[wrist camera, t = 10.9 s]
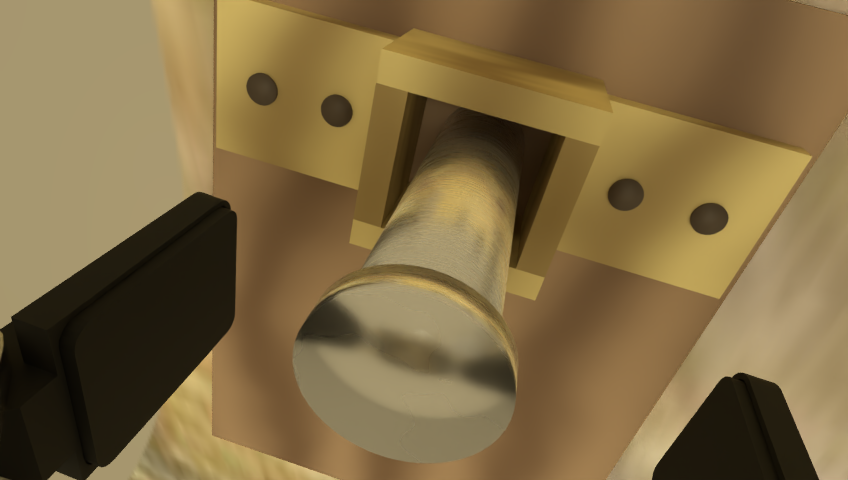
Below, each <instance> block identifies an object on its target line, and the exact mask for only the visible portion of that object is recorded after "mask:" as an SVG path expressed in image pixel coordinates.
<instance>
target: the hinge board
mask: <svg viewBox="0 0 848 480" xmlns="http://www.w3.org/2000/svg"><path fill="white" fill-rule="evenodd" d="M460 107H463V108H467V109H470V110H474V111H477V112H481V113H484V114H488V115H491V116H495V117H498V118H502V119H505V120H509V121H512V122H516V123H519V124H520V125H521V127H522V130H523V133H524V139H525V146H524V154H523V162H522V170H521V177H520V185H519V193H518V200H517V208H516V216H515V223H514V231H513V239H512V247H511V254H510V262H509V270H508V277H507V285H506V293H505V301H504V308H503V316H502V317H503V319H504V320H505V322H506V323H507V325H508V327H509V329H510V330H511V333H512V335H513V338H514V340H515V343H516V348H517V352H518V378H517V390H516V401H515V409H514V412H513V415H512V418H511V421H510V422H509V424H508V426H507V428H506V430H505V431H504V432H503V433H502V435H501V436H500V437H499V438H498V439H497V440H496V441H495V442H494V443H492V444H491V445H490V446H488V447H487V448H485V449H484V450H482V451H480V452H478V453H476V454H474V455H472V456H469V457H466V458H463V459H460V460H455V461H450V462H444V463H413V462H405V461H400V460H395V459H391V458H387V457H384V456H381V455H378V454H375V453H372V452H370V451H367V450H365V449H363V448H361V447H359V446H357V445H355V444H353V443H352V442H350V441H348V440H346V439H345V438H343V437H342V436H340V435H339V434H338V433H336V432H335V431H334V430H332V429H331V428H330V427H329V426H328V425H326V424H325V423H324V422H323V421H322V420H321V419H320V418H319V417H318V416H317V415H316V413H315V412H314V411H313V410H312V408H311V407H310V406H309V405H308V403H307V401H306V400H305V398H304V397H303V395H302V393H301V391H300V389H299V386H298V384H297V381H296V378H295V375H294V369H293V348H294V343H295V340H296V337H297V334H298V332H299V330H300V329H301V327H302V325H303V324H304V322H305V320H306V319H307V317H308V316H309V314H310V313H311V311H312V310H313V308H314V306H315V305H316V303H317V302H318V300H319V299H320V297H321V296H322V294H323V293H324V292H325V291H326V290H327V289H328V288H329V287H330V286H331V285H332V284H333V283H335V282H336V281H337V280H338V279H340V278H342V277H344V276H345V275H347V274H349V273H352V272H354V271H357V270H359V269H361V268H362V267H363V265H364V263H365V261H366V260H367V258H368V256H369V255H370V253H371V251H372V249H373V248H374V246H375V244H376V242H377V241H378V239H379V237H380V235H381V234H382V232H383V230H384V228H385V227H386V225H387V223H388V221H389V220H390V218H391V216H392V214H393V213H394V211H395V209H396V207H397V206H398V204H399V202H400V200H401V199H402V197H403V195H404V193H405V192H406V190H407V188H408V186H409V185H410V183H411V181H412V179H413V178H414V176H415V174H416V172H417V171H418V169H419V167H420V165H421V164H422V162H423V160H424V158H425V157H426V155H427V153H428V151H429V150H430V148H431V146H432V144H433V143H434V141H435V139H436V137H437V136H438V134H439V132H440V130H441V129H442V127H443V125H444V124H445V122H446V120H447V119H448V117H449V116H450V115H451V114H452V113H453V112H454V111H455V110H457V109H458V108H460ZM847 113H848V15H844V14H840V13H836V12H832V11H828V10H824V9H820V8H817V7H813V6H809V5H805V4H801V3H797V2H793V1H789V0H214V120H213V196H214V197H217V198H220V199H223V200H226V201H227V202H229V204H230V206H231V210H232V211H234V212H236V214H237V250H236V298H235V318H234V321H233V324H232V326H231V328H230V329H229V331H228V332H227V333H226V334H225V336H224V337H223V338H222V339H221V340H220V341H219V342H218V343H217V345H216V346H215V347H214V348H213V360H212V435H213V436H216V437H219V438H222V439H224V440H227V441H230V442H233V443H236V444H239V445H242V446H245V447H248V448H250V449H253V450H256V451H259V452H262V453H265V454H268V455H271V456H274V457H276V458H279V459H282V460H285V461H288V462H291V463H294V464H297V465H300V466H302V467H305V468H308V469H311V470H314V471H317V472H320V473H323V474H326V475H328V476H331V477H334V478H337V479H340V480H606V478H607V477H608V475H609V474H610V472H611V471H612V469H613V468H614V466H615V465H616V463H617V462H618V460H619V459H620V457H621V456H622V454H623V453H624V451H625V450H626V448H627V446H628V445H629V443H630V442H631V440H632V439H633V437H634V436H635V434H636V433H637V431H638V430H639V428H640V427H641V425H642V424H643V422H644V421H645V419H646V418H647V416H648V415H649V413H650V412H651V410H652V409H653V407H654V406H655V404H656V403H657V401H658V399H659V398H660V396H661V395H662V393H663V392H664V390H665V389H666V387H667V386H668V384H669V383H670V381H671V380H672V378H673V377H674V375H675V374H676V372H677V371H678V369H679V368H680V366H681V365H682V363H683V362H684V360H685V359H686V357H687V355H688V354H689V352H690V351H691V349H692V348H693V346H694V345H695V343H696V342H697V340H698V339H699V337H700V336H701V334H702V333H703V331H704V330H705V328H706V327H707V325H708V324H709V322H710V321H711V319H712V318H713V316H714V315H715V313H716V312H717V310H718V308H719V307H720V305H721V304H722V302H723V301H724V299H725V298H726V296H727V295H728V293H729V292H730V290H731V289H732V287H733V286H734V284H735V283H736V281H737V280H738V278H739V277H740V275H741V274H742V272H743V271H744V269H745V268H746V266H747V265H748V263H749V261H750V260H751V258H752V257H753V255H754V254H755V252H756V251H757V249H758V248H759V246H760V245H761V243H762V242H763V240H764V239H765V237H766V236H767V234H768V233H769V231H770V230H771V228H772V227H773V225H774V224H775V222H776V221H777V219H778V218H779V216H780V214H781V213H782V211H783V210H784V208H785V207H786V205H787V204H788V202H789V201H790V199H791V198H792V196H793V195H794V193H795V192H796V190H797V189H798V187H799V186H800V184H801V183H802V181H803V180H804V178H805V177H806V175H807V174H808V172H809V171H810V169H811V167H812V166H813V164H814V163H815V161H816V160H817V158H818V157H819V155H820V154H821V152H822V151H823V149H824V148H825V146H826V145H827V143H828V142H829V140H830V139H831V137H832V136H833V134H834V133H835V131H836V130H837V128H838V127H839V125H840V123H841V122H842V120H843V119H844V117H845V116H846V114H847Z"/></svg>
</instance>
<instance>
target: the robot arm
mask: <svg viewBox="0 0 848 480" xmlns="http://www.w3.org/2000/svg"><path fill="white" fill-rule="evenodd" d="M236 250H237V214H236V212H234V211H232V210H231V206H230V204H229V202H227V201H226V200H223V199H220V198H217V197H214V196H211V195H208V194H205V193H202V192H197V193H195V194H193V195H191V196H190V197H188V198H187V199H185V200H184V201H182V202H181V203H180V204H178V205H176V206H175V207H174V208H172V209H171V210H169V211H168V212H166V213H165V214H163V215H162V216H160V217H159V218H157V219H156V220H154V221H153V222H151V223H150V224H148V225H147V226H145V227H144V228H142V229H141V230H139V231H138V232H136V233H135V234H133V235H132V236H130V237H129V238H127V239H126V240H125V241H123V242H122V243H120V244H119V245H117V246H116V247H114V248H113V249H111V250H110V251H108V252H107V253H105V254H104V255H102V256H101V257H100V258H98V259H96V260H95V261H93V262H92V263H90V264H89V265H87V266H86V267H85V268H83V269H82V270H80V271H79V272H77V273H76V274H74V275H73V276H71V277H70V278H68V279H67V280H65V281H64V282H62V283H61V284H59V285H58V286H56V287H55V288H53V289H52V290H50V291H49V292H47V293H46V294H44V295H43V296H42V297H40V298H39V299H37V300H35V301H34V302H32V303H31V304H30V305H28V306H27V307H25V308H24V309H22V310H21V311H19V312H18V313H16V314H15V315H13V316H12V317H11V318H12V322H11V323H9V324H8V325H6V326H5V327H3V328H2V329H0V480H47V479H48V478H50V476H51V475H52V474H53V473H54V472H55V471H57V472H60V473H62V474H64V475H67V476H69V477H72V478H75V479H77V480H86V479H87V478H88V477H89V475H90V474H91V473H92V472H93V471H94V470H95V469H96V468H97V467H98V466H100V467H105V466H107V465H108V464H110V463H111V462H112V461H113V460H114V459H115V458H116V457H117V456H118V455H119V453H120V452H121V451H122V450H123V449H124V448H125V447H126V446H127V444H128V443H129V442H130V441H131V440H132V439H133V438H134V437H135V436H136V434H137V433H138V432H139V431H140V430H141V429H142V428H143V427H144V425H145V424H146V423H147V422H148V421H149V420H150V419H151V418H152V416H153V415H154V414H155V413H156V412H157V411H158V410H159V409H160V407H161V406H162V405H163V404H164V403H165V402H166V401H167V400H168V398H169V397H170V396H171V395H172V394H173V393H174V392H175V391H176V389H177V388H178V387H179V386H180V385H181V384H182V383H183V382H184V380H185V379H186V378H187V377H188V376H189V375H190V374H191V373H192V371H193V370H194V369H195V368H196V367H197V366H198V365H199V364H200V363H201V361H202V360H203V359H204V358H205V357H206V356H207V355H208V354H209V352H210V351H211V350H212V349H213V348H214V347H215V346H216V345H217V343H218V342H219V341H220V340H221V339H222V338H223V337H224V336H225V334H226V333H227V332H228V331H229V329H230V328H231V326H232V324H233V321H234V318H235V298H236ZM652 480H819V478H818V476H817V474H816V471H815V469H814V466H813V464H812V462H811V459H810V457H809V455H808V452H807V450H806V448H805V445H804V443H803V440H802V438H801V436H800V433H799V431H798V429H797V426H796V424H795V422H794V419H793V417H792V414H791V412H790V410H789V407H788V405H787V403H786V400H785V398H784V396H783V393H782V391H781V389H780V388H779V386H778V385H776V384H775V383H772V382H769V381H766V380H763V379H760V378H757V377H754V376H751V375H748V374H745V373H737V374H735V375H734V376H733V377H732V378H731V377H724V378H722V379H721V380H720V381H719V383H718V384H717V385H716V387H715V388H714V389H713V391H712V392H711V393H710V395H709V396H708V397H707V399H706V400H705V401H704V403H703V404H702V405H701V407H700V408H699V409H698V411H697V412H696V413H695V415H694V416H693V417H692V419H691V420H690V421H689V423H688V424H687V425H686V427H685V428H684V429H683V431H682V432H681V433H680V435H679V436H678V437H677V439H676V440H675V441H674V443H673V444H672V445H671V447H670V448H669V449H668V451H667V452H666V453H665V455H664V456H663V457H662V459H661V460H660V461H659V463H658V464H657V466H656V467H655V470H654V472H653V477H652Z"/></svg>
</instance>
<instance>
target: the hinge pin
mask: <svg viewBox="0 0 848 480" xmlns="http://www.w3.org/2000/svg"><path fill="white" fill-rule="evenodd" d="M524 146H525V139H524V133H523V130H522V127H521V125H520V124H519V123H516V122H512V121H509V120H505V119H502V118H498V117H495V116H491V115H488V114H484V113H481V112H477V111H474V110H470V109H467V108H463V107H460V108H458V109H457V110H455V111H454V112H453V113H452V114H451V115H450V116H449V117H448V119H447V120H446V122H445V124H444V125H443V127H442V129H441V130H440V132H439V134H438V136H437V137H436V139H435V141H434V143H433V144H432V146H431V148H430V150H429V151H428V153H427V155H426V157H425V158H424V160H423V162H422V164H421V165H420V167H419V169H418V171H417V172H416V174H415V176H414V178H413V179H412V181H411V183H410V185H409V186H408V188H407V190H406V192H405V193H404V195H403V197H402V199H401V200H400V202H399V204H398V206H397V207H396V209H395V211H394V213H393V214H392V216H391V218H390V220H389V221H388V223H387V225H386V227H385V228H384V230H383V232H382V234H381V235H380V237H379V239H378V241H377V242H376V244H375V246H374V248H373V249H372V251H371V253H370V255H369V256H368V258H367V260H366V261H365V263H364V265H363V267H362V268H361V269H359V270H357V271H354V272H352V273H349V274H347V275H345V276H344V277H342V278H340V279H338V280H337V281H336V282H335V283H333V284H332V285H331V286H330V287H329V288H328V289H327V290H326V291H325V292H324V293H323V294H322V296H321V297H320V299H319V300H318V302H317V303H316V305H315V306H314V308H313V310H312V311H311V313H310V314H309V316H308V317H307V319H306V320H305V322H304V324H303V325H302V327H301V329H300V330H299V332H298V334H297V337H296V340H295V343H294V348H293V369H294V375H295V378H296V381H297V384H298V386H299V389H300V391H301V393H302V395H303V397H304V398H305V400H306V401H307V403H308V405H309V406H310V407H311V408H312V410H313V411H314V412H315V413H316V415H317V416H318V417H319V418H320V419H321V420H322V421H323V422H324V423H325V424H326V425H328V426H329V427H330V428H331V429H332V430H334V431H335V432H336V433H338V434H339V435H340V436H342V437H343V438H345V439H346V440H348V441H350V442H352V443H353V444H355V445H357V446H359V447H361V448H363V449H365V450H367V451H370V452H372V453H375V454H378V455H381V456H384V457H387V458H391V459H395V460H400V461H405V462H413V463H444V462H450V461H455V460H460V459H463V458H466V457H469V456H472V455H474V454H476V453H478V452H480V451H482V450H484V449H485V448H487V447H488V446H490V445H491V444H492V443H494V442H495V441H496V440H497V439H498V438H499V437H500V436H501V435H502V433H503V432H504V431H505V430H506V428H507V426H508V424H509V422H510V421H511V418H512V415H513V412H514V409H515V401H516V390H517V378H518V352H517V348H516V343H515V340H514V338H513V335H512V333H511V330H510V329H509V327H508V325H507V323H506V322H505V320H504V319H503V317H502V316H503V308H504V301H505V293H506V285H507V277H508V270H509V262H510V254H511V247H512V239H513V231H514V223H515V216H516V208H517V200H518V193H519V185H520V177H521V170H522V162H523V154H524Z"/></svg>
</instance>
